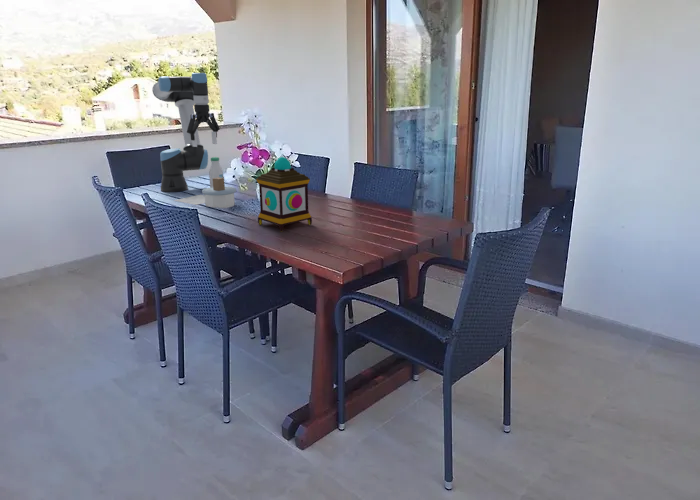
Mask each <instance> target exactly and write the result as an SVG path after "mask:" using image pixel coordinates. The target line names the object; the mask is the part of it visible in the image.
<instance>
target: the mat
mask: <svg viewBox="0 0 700 500" xmlns="http://www.w3.org/2000/svg"><path fill="white" fill-rule="evenodd" d="M173 201H174V202H178V203H184V204H188V205H189V204H190V205H195V206H197V205H202V204H206V202H205V194H196V195H191V196H186V197H184V198H179V199H174V200H173Z"/></svg>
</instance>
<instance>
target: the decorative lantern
mask: <svg viewBox="0 0 700 500" xmlns="http://www.w3.org/2000/svg"><path fill="white" fill-rule="evenodd" d="M255 180H256V182H257V183H258V189H259V192H258V193H259V207H260V212H259V214H258V216H257V223H258V225H262V224H263V221H264V222H267V223H270V224H274V225H276V226H278V227H279V231H280V233H281V232H284V226H286V225H290V224H296V223H300V222H304V221H307V225H309V226H310V225H312V222H313V220H312V216H311V214H310V211H309V195H308V194H309V187H308V186H309V183H310V180H311V179H310V178H309V176H307V175H306V174H304V173H300V172H298V170H296V169H294V167H292V166H291V161H290V160H289V159H287V157H284V156H281V157H279V158H277V160H275V162H274V167H272V168H271V169H270V170H269V171H267V172H266V173H262V174H260V176H257V178H256V179H255Z"/></svg>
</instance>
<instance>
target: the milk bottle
mask: <svg viewBox="0 0 700 500" xmlns="http://www.w3.org/2000/svg"><path fill="white" fill-rule="evenodd" d="M210 161H211V162H210V163H211V165H210V168H209V170H208V171H209V172H208V173H209V175H208V177H209V188H211V187H213V178H217V177H220V178H224V171H223V169H222V166H221V165H220V157H217V156H215V157H214V156H213V157H210Z"/></svg>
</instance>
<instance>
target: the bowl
mask: <svg viewBox="0 0 700 500" xmlns="http://www.w3.org/2000/svg"><path fill="white" fill-rule="evenodd" d="M204 195H205V194H204ZM205 202H206V203H205V207H210V208H213V209H218V208H220V209H229V208H232V207H234V206H235V193H232V194H228V195H205Z"/></svg>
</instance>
